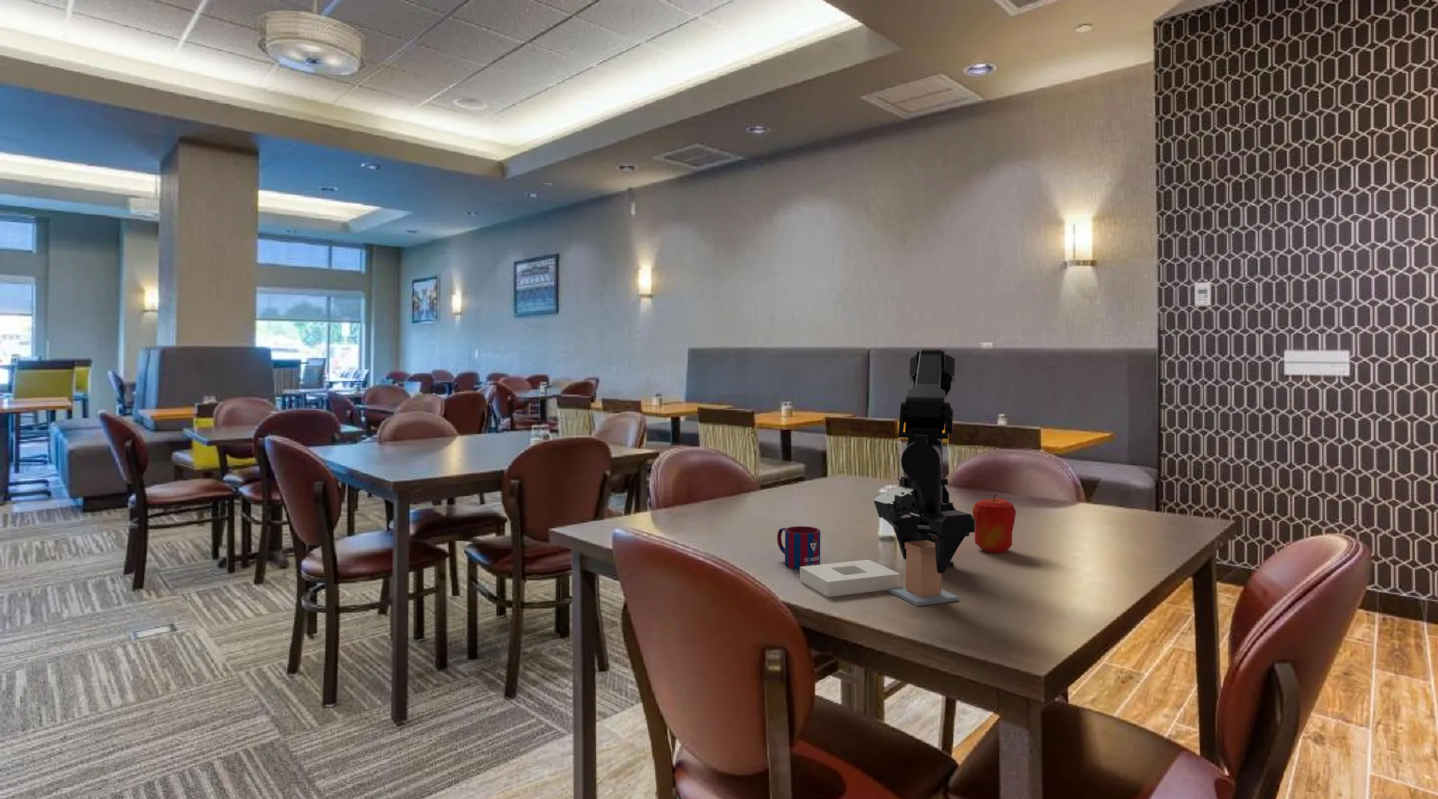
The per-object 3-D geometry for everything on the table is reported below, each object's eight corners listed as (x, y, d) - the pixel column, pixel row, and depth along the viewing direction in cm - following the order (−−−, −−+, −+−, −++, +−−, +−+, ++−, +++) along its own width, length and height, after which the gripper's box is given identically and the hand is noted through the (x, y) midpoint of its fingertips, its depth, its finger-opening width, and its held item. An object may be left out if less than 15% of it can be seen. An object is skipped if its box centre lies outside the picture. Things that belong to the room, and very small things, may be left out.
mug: (799, 571, 137) (799, 535, 136) (767, 559, 145) (767, 525, 145) (827, 566, 140) (827, 531, 140) (794, 555, 149) (795, 521, 148)
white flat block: (868, 573, 136) (868, 559, 136) (900, 588, 126) (900, 573, 126) (799, 580, 131) (799, 566, 131) (827, 597, 121) (827, 582, 121)
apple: (988, 543, 158) (989, 489, 158) (1024, 551, 152) (1025, 494, 151) (963, 549, 154) (963, 493, 153) (999, 558, 147) (999, 498, 146)
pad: (928, 586, 127) (928, 583, 127) (958, 600, 120) (958, 596, 120) (888, 591, 124) (888, 588, 124) (917, 606, 117) (917, 602, 117)
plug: (926, 587, 125) (926, 540, 125) (942, 594, 121) (943, 546, 120) (904, 589, 123) (904, 542, 123) (920, 597, 119) (920, 548, 119)
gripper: (851, 466, 127) (850, 556, 128) (917, 482, 110) (916, 586, 110) (906, 463, 131) (905, 551, 132) (978, 478, 113) (976, 579, 114)
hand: (923, 565), depth 122 cm, fingers open, 9 cm apart
